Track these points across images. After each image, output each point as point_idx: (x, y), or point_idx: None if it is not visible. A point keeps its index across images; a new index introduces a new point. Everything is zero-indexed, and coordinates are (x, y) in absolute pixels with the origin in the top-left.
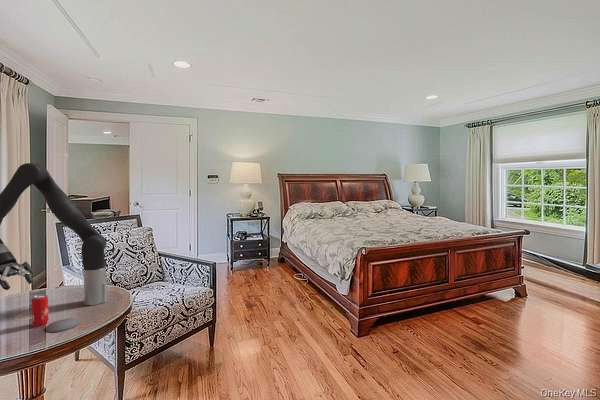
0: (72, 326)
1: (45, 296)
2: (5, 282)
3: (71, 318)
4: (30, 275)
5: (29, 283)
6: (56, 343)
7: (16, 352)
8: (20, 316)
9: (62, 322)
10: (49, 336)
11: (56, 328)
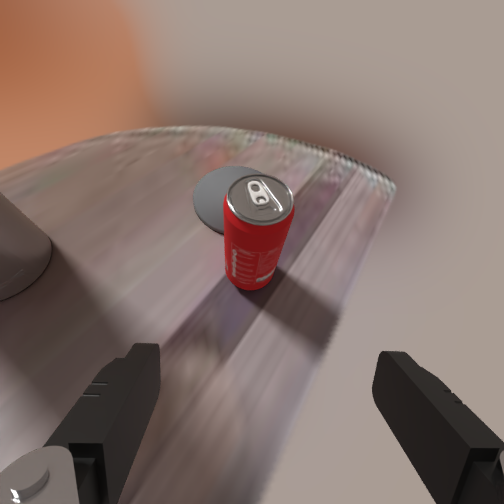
0: (240, 166)
1: (250, 174)
2: (457, 411)
3: (195, 204)
4: (56, 435)
5: (159, 382)
6: (311, 149)
7: (375, 186)
8: (208, 458)
9: None
10: (295, 184)
11: None
